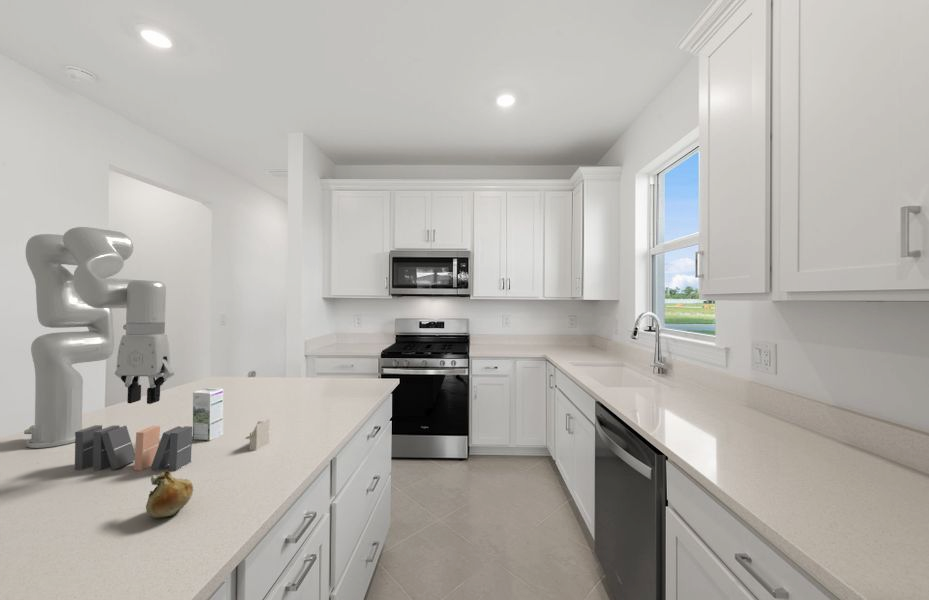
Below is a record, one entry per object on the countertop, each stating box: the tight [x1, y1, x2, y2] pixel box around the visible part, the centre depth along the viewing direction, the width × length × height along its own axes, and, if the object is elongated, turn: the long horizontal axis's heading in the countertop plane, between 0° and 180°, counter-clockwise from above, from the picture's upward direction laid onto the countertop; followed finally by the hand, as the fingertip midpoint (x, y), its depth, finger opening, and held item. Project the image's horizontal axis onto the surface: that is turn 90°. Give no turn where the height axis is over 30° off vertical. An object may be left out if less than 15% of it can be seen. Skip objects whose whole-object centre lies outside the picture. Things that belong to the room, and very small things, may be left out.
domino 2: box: [93, 424, 120, 471], centre depth 95 cm, size 2×5×9 cm, turn 0°
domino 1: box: [74, 424, 103, 471], centre depth 95 cm, size 2×5×9 cm, turn 0°
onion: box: [145, 470, 194, 519], centre depth 74 cm, size 8×8×8 cm
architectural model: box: [245, 419, 272, 452], centre depth 110 cm, size 3×7×7 cm, turn 172°
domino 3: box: [101, 425, 135, 471], centre depth 95 cm, size 2×5×9 cm, turn 0°
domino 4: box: [133, 425, 161, 471], centre depth 95 cm, size 2×5×9 cm, turn 0°
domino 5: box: [150, 426, 184, 471], centre depth 95 cm, size 2×5×9 cm, turn 0°
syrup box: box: [192, 387, 224, 442], centre depth 115 cm, size 6×6×14 cm
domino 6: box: [168, 425, 193, 471], centre depth 95 cm, size 2×5×9 cm, turn 0°
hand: (143, 401), depth 95 cm, fingers open, 4 cm apart
